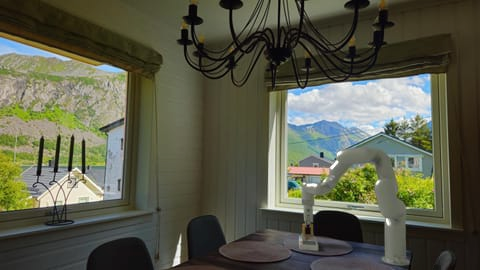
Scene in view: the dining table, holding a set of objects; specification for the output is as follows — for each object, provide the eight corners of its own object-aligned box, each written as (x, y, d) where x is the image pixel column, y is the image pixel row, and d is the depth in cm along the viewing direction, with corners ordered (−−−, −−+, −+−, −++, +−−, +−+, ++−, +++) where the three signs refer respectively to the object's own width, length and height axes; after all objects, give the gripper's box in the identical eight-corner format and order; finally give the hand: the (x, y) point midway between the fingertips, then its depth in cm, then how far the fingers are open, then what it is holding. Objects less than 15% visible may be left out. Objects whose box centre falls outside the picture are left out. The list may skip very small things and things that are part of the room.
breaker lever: (313, 239, 186) (313, 225, 187) (302, 238, 187) (302, 224, 188) (312, 238, 188) (312, 224, 189) (302, 237, 189) (302, 223, 190)
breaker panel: (318, 250, 173) (318, 241, 173) (299, 249, 175) (299, 240, 175) (315, 241, 193) (315, 233, 193) (298, 240, 194) (299, 232, 195)
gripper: (315, 204, 181) (315, 237, 179) (313, 201, 197) (313, 231, 195) (302, 204, 182) (301, 236, 180) (301, 200, 198) (301, 230, 196)
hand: (307, 233), depth 188 cm, fingers open, 3 cm apart
